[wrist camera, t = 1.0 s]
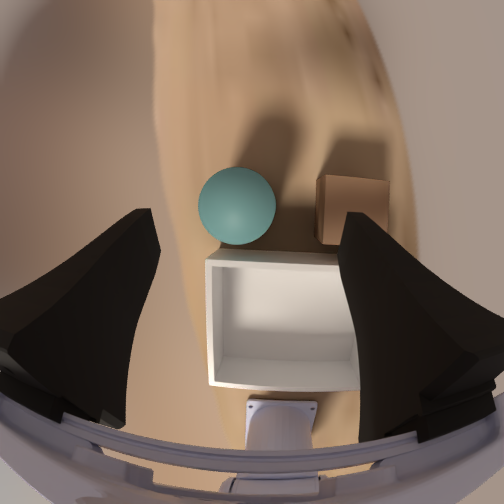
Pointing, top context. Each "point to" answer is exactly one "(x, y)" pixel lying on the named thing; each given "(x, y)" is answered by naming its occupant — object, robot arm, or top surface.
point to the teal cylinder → (236, 205)
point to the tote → (279, 322)
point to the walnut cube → (348, 204)
